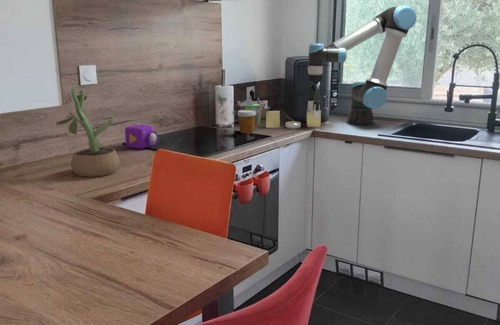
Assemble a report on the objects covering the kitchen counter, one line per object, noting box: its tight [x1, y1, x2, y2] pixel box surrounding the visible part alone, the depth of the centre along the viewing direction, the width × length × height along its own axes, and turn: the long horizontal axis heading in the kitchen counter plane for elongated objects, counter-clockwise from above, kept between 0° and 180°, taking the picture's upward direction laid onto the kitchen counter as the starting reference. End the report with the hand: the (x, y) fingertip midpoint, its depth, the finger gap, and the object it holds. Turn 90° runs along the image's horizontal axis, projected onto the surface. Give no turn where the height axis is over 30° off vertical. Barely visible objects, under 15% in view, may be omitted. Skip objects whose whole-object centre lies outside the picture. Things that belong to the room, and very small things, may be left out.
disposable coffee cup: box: [236, 109, 256, 135], centre depth 237 cm, size 10×10×12 cm
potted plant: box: [55, 88, 120, 178], centre depth 172 cm, size 22×18×30 cm
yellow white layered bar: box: [306, 109, 322, 128], centre depth 252 cm, size 7×2×9 cm, turn 96°
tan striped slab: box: [265, 110, 281, 129], centre depth 249 cm, size 7×2×9 cm, turn 96°
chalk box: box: [243, 98, 262, 126], centre depth 262 cm, size 9×9×15 cm
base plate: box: [285, 120, 302, 129], centre depth 251 cm, size 26×16×4 cm, turn 96°
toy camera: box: [124, 122, 158, 150], centre depth 211 cm, size 11×14×10 cm
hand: (313, 114), depth 251 cm, fingers open, 13 cm apart
